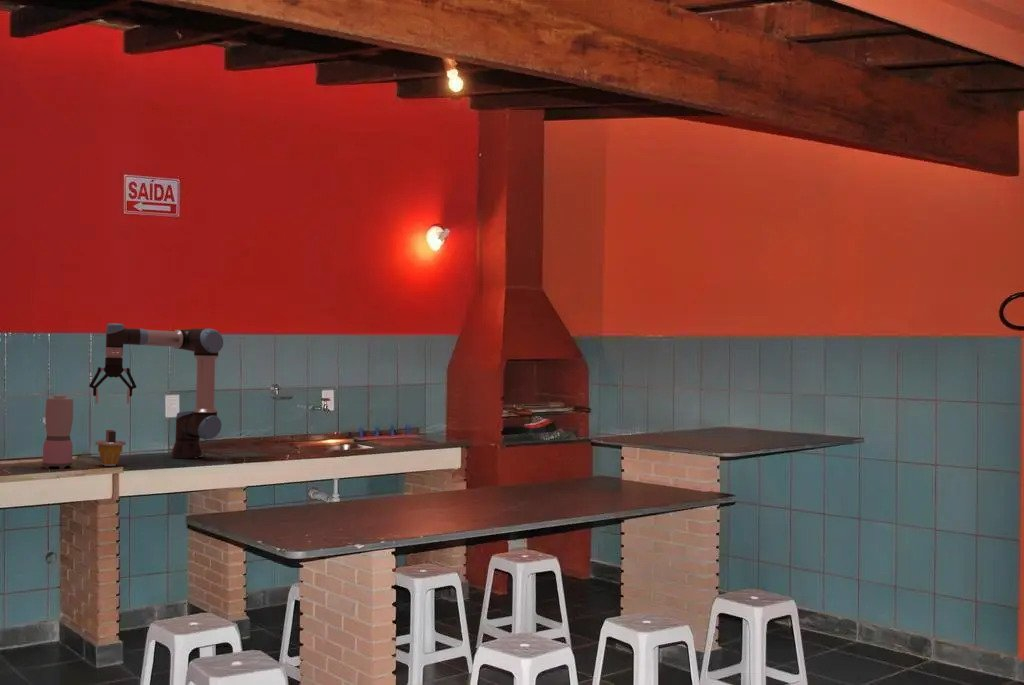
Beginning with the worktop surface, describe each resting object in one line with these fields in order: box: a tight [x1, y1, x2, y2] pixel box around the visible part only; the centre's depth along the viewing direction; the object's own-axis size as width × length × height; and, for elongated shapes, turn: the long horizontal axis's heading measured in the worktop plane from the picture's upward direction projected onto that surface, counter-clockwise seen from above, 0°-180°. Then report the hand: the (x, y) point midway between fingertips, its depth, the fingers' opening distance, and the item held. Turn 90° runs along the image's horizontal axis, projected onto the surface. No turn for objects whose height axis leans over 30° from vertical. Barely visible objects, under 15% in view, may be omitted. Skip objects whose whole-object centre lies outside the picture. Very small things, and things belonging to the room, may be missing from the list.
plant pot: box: [97, 445, 123, 465], centre depth 494 cm, size 10×10×10 cm
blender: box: [41, 394, 74, 470], centre depth 482 cm, size 16×12×32 cm
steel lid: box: [94, 429, 126, 446], centre depth 494 cm, size 13×13×6 cm
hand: (112, 403), depth 494 cm, fingers open, 13 cm apart
